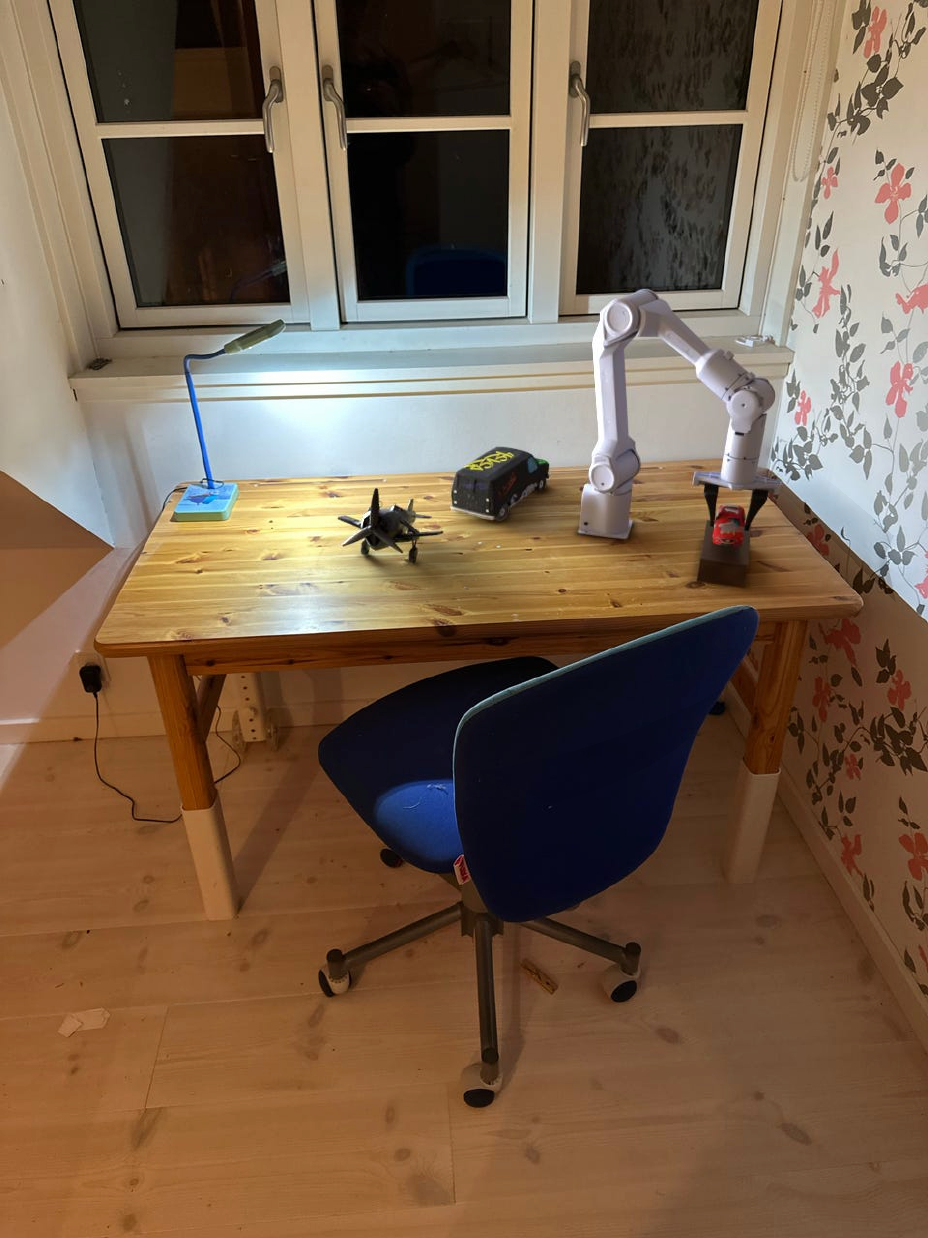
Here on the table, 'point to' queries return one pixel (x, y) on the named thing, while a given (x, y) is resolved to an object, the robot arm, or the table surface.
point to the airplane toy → (387, 528)
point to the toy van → (497, 482)
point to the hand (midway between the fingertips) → (729, 526)
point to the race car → (729, 526)
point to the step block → (723, 560)
